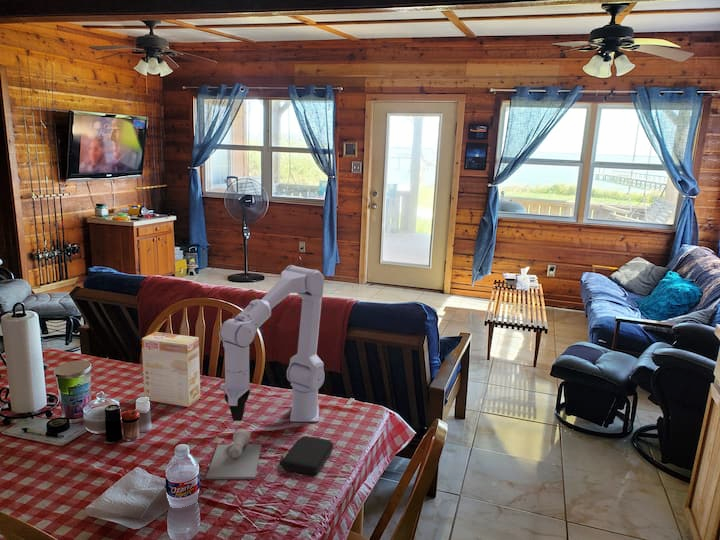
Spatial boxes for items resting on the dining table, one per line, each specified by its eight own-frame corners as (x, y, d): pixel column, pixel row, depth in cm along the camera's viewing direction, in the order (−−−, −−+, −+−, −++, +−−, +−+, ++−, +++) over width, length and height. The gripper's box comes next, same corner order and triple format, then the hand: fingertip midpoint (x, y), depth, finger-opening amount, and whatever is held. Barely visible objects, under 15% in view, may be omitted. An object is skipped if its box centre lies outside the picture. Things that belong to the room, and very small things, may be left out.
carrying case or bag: (296, 442, 143) (273, 472, 129) (296, 431, 143) (273, 461, 129) (335, 449, 141) (316, 481, 127) (335, 438, 140) (316, 469, 126)
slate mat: (217, 446, 139) (217, 444, 139) (261, 446, 140) (261, 444, 139) (206, 479, 125) (206, 476, 125) (254, 479, 126) (254, 476, 126)
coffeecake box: (201, 397, 165) (199, 336, 161) (188, 407, 159) (186, 344, 154) (157, 390, 169) (155, 330, 165) (143, 400, 162) (140, 338, 158)
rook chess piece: (245, 445, 140) (238, 465, 133) (230, 436, 140) (222, 456, 132) (254, 433, 139) (247, 452, 131) (239, 424, 138) (231, 443, 131)
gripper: (225, 356, 138) (226, 405, 141) (214, 380, 124) (215, 434, 127) (253, 356, 139) (253, 406, 142) (245, 380, 125) (246, 434, 127)
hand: (237, 419), depth 134 cm, fingers closed
